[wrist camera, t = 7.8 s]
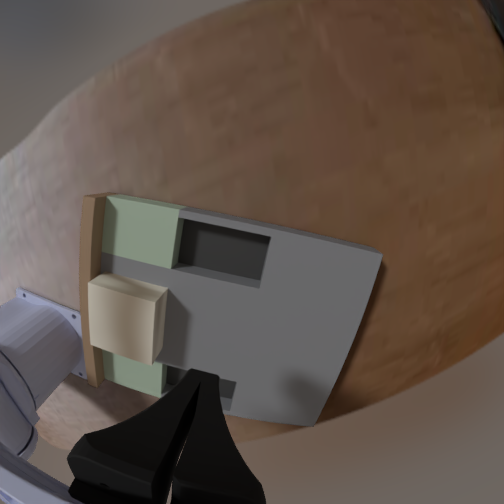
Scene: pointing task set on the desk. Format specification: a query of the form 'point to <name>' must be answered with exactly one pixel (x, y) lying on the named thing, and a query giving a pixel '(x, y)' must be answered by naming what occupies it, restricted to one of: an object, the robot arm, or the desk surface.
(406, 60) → the desk surface
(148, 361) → the cream block
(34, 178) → the desk surface
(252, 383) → the board
